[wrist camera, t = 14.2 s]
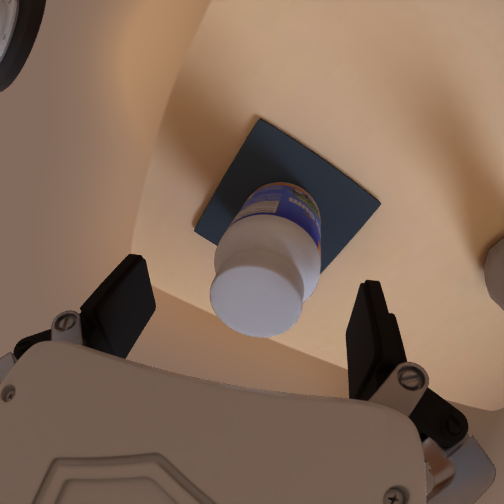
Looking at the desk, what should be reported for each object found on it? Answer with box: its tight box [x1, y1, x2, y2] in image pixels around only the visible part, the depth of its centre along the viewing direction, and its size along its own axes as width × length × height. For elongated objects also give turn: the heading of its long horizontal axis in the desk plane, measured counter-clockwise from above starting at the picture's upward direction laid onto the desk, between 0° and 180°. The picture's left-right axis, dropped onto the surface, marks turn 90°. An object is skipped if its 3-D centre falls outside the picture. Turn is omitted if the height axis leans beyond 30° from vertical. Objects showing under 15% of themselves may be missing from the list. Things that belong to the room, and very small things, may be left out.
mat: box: [194, 118, 381, 274], centre depth 20 cm, size 10×10×1 cm
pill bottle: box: [210, 182, 321, 337], centre depth 16 cm, size 5×5×10 cm
